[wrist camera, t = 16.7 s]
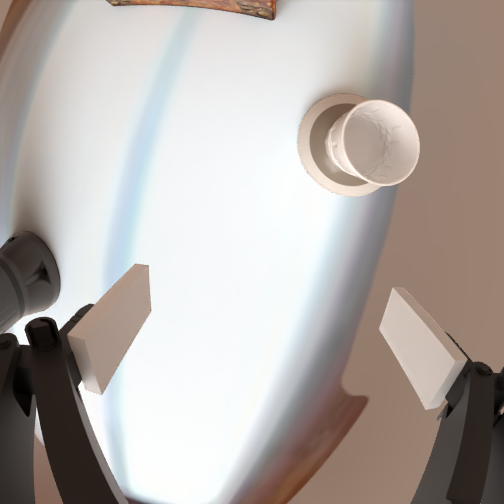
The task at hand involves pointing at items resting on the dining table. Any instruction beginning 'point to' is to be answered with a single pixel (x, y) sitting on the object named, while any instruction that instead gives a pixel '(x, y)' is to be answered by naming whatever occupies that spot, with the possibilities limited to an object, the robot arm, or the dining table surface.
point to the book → (214, 5)
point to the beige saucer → (315, 150)
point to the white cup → (374, 143)
